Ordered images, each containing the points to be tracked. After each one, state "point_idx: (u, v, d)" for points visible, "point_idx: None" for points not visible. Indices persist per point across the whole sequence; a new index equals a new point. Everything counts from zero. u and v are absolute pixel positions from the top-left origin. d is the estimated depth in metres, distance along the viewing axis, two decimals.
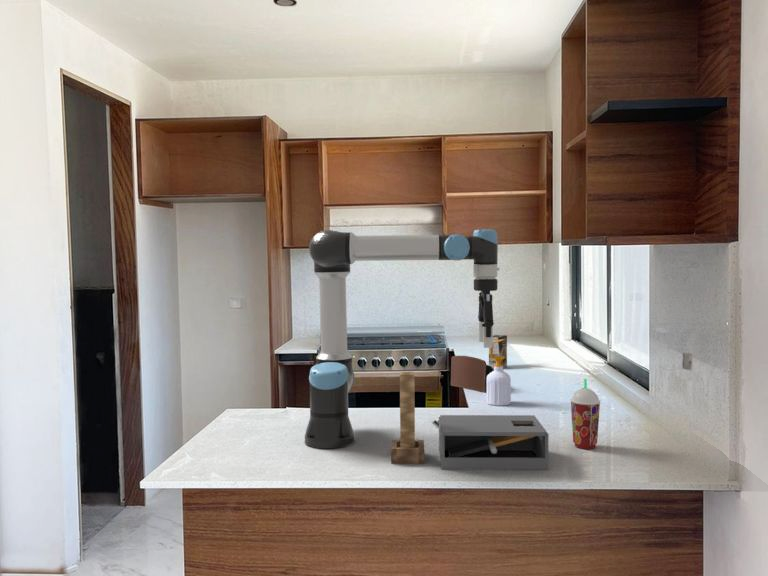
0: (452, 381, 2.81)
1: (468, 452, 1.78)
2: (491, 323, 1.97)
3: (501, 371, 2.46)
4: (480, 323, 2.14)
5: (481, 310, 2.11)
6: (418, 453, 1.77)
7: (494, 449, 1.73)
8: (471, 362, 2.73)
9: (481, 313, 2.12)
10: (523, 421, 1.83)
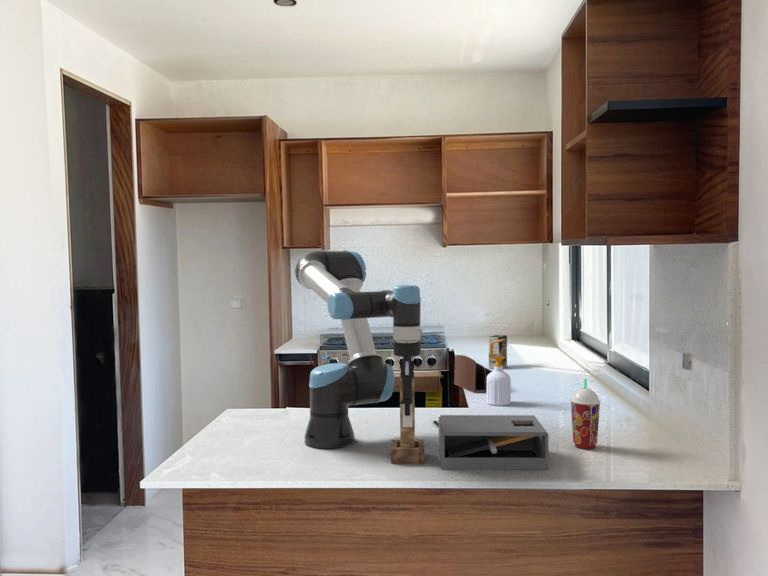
0: (455, 380, 2.84)
1: (468, 452, 1.78)
2: (409, 402, 1.75)
3: (501, 371, 2.46)
4: None
5: None
6: (418, 453, 1.77)
7: (494, 449, 1.73)
8: (466, 362, 2.74)
9: None
10: (523, 421, 1.83)
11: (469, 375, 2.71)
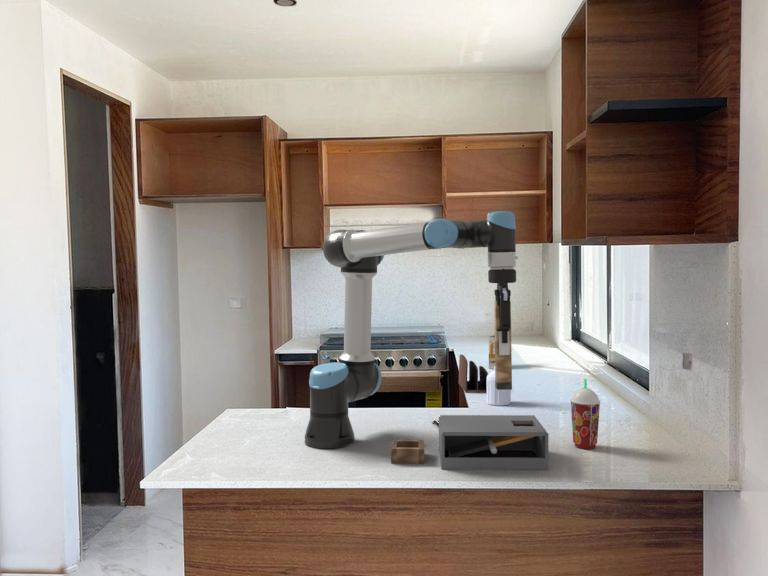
0: (459, 379, 2.86)
1: (468, 452, 1.78)
2: (508, 328, 1.73)
3: None
4: None
5: None
6: (418, 453, 1.77)
7: (494, 449, 1.73)
8: (463, 361, 2.74)
9: None
10: (523, 421, 1.83)
11: (464, 375, 2.72)
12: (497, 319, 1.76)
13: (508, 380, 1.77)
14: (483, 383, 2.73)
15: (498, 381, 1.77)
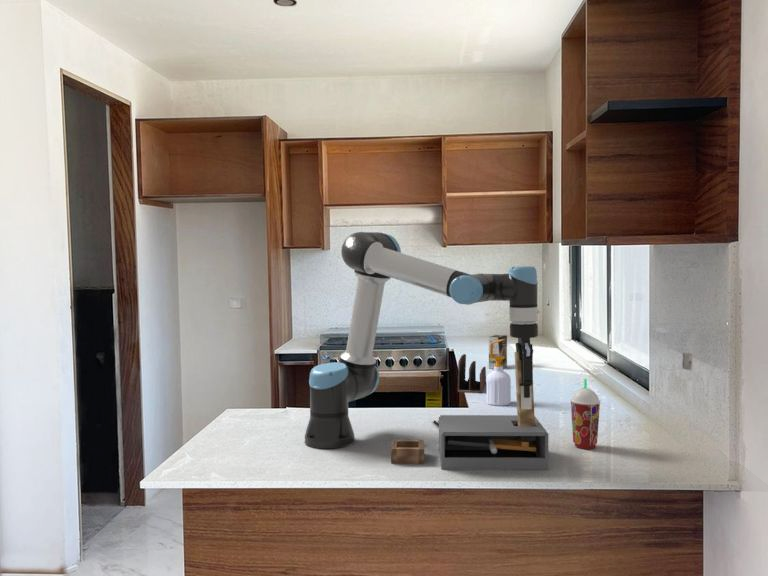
0: (463, 379, 2.87)
1: (467, 444, 1.77)
2: (530, 383, 1.73)
3: (501, 371, 2.46)
4: None
5: None
6: (418, 453, 1.77)
7: (494, 449, 1.73)
8: (461, 361, 2.76)
9: None
10: None
11: None
12: (519, 371, 1.77)
13: None
14: (479, 383, 2.72)
15: None
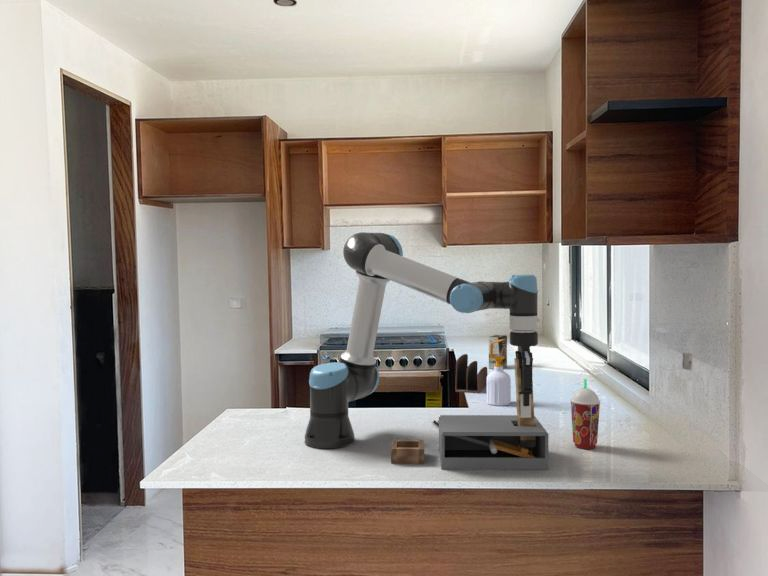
0: None
1: (468, 439, 1.77)
2: (530, 392, 1.73)
3: (501, 371, 2.46)
4: None
5: None
6: (418, 453, 1.77)
7: (495, 449, 1.73)
8: None
9: None
10: None
11: None
12: (518, 378, 1.77)
13: (531, 438, 1.78)
14: None
15: (522, 439, 1.78)
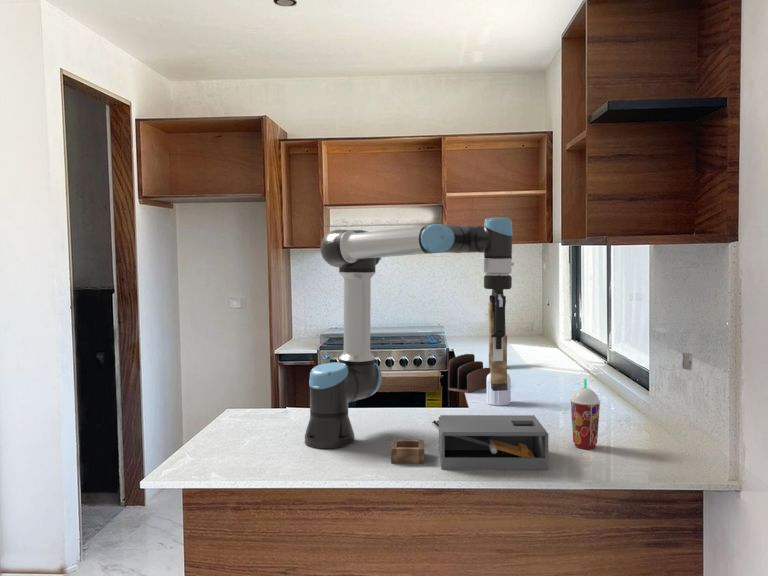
0: None
1: (468, 439, 1.77)
2: (502, 334, 1.73)
3: None
4: None
5: None
6: (418, 453, 1.77)
7: (495, 449, 1.73)
8: None
9: None
10: (523, 421, 1.83)
11: None
12: (491, 321, 1.77)
13: (503, 381, 1.78)
14: None
15: (494, 382, 1.78)
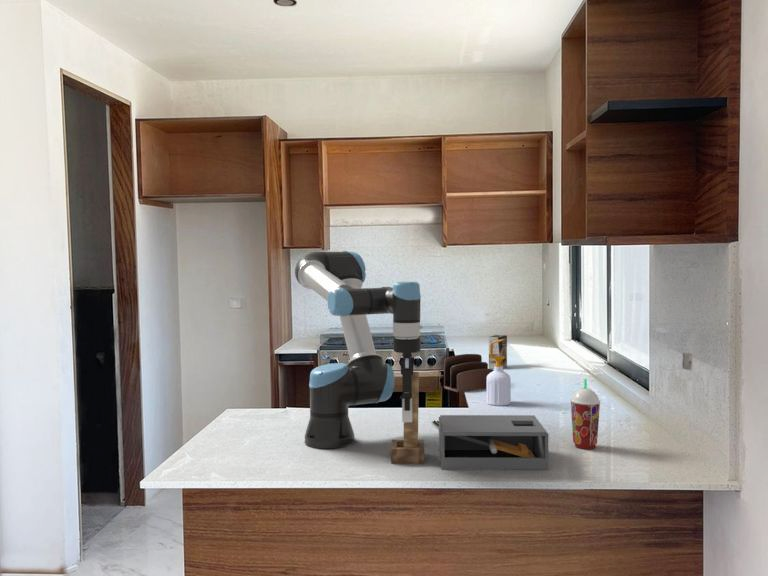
0: None
1: (468, 439, 1.77)
2: (409, 396, 1.72)
3: (501, 371, 2.46)
4: None
5: None
6: (418, 453, 1.77)
7: (495, 449, 1.73)
8: None
9: None
10: (523, 421, 1.83)
11: None
12: None
13: None
14: None
15: None
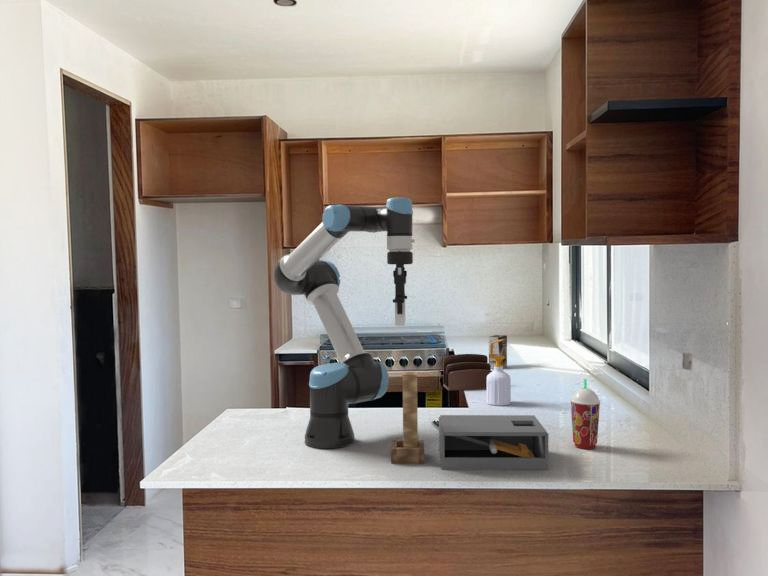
0: None
1: (468, 439, 1.77)
2: (401, 298, 1.81)
3: (501, 371, 2.46)
4: None
5: None
6: (418, 453, 1.77)
7: (495, 449, 1.73)
8: None
9: None
10: (523, 421, 1.83)
11: None
12: (404, 391, 1.79)
13: None
14: None
15: None
